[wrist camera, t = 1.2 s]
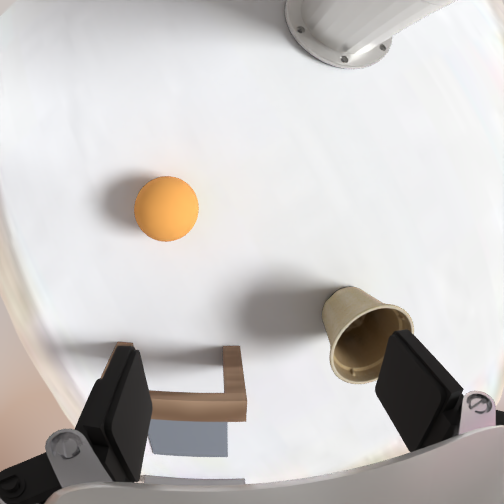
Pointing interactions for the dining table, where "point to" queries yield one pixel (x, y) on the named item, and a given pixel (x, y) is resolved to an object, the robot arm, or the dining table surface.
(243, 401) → the bridge
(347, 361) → the flower pot
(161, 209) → the ball
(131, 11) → the dining table surface
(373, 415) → the dining table surface
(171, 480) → the stopper
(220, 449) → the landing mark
